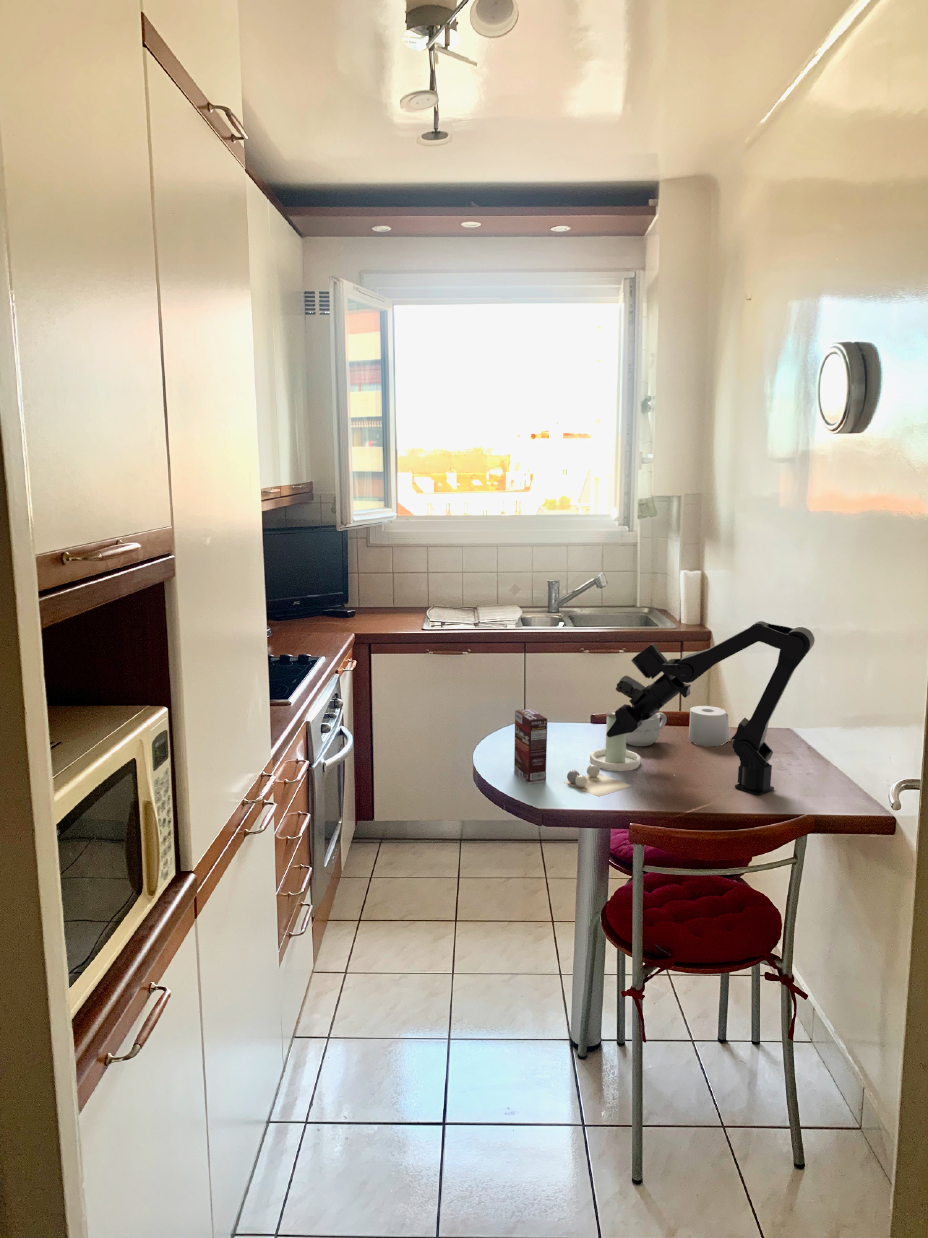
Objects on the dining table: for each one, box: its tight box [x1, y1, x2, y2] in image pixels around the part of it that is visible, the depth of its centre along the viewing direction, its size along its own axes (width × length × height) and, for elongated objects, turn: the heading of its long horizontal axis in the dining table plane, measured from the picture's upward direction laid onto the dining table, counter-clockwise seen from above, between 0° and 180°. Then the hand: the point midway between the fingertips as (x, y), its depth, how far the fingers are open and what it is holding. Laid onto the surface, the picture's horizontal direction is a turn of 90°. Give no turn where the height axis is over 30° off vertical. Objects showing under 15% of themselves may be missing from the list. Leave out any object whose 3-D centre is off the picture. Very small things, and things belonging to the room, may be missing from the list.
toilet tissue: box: [688, 705, 732, 747], centre depth 238 cm, size 9×13×9 cm
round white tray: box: [589, 748, 642, 772], centre depth 218 cm, size 12×12×2 cm
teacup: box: [626, 711, 667, 747], centre depth 235 cm, size 14×11×8 cm
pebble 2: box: [575, 774, 587, 788], centre depth 201 cm, size 3×3×3 cm
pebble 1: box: [566, 769, 581, 783], centre depth 204 cm, size 3×3×3 cm
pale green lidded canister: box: [605, 709, 627, 763], centre depth 217 cm, size 5×5×12 cm
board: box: [563, 773, 632, 798], centre depth 203 cm, size 11×11×1 cm
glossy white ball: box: [586, 764, 601, 777], centre depth 208 cm, size 3×3×3 cm
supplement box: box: [513, 708, 548, 785], centre depth 206 cm, size 9×5×16 cm, turn 21°
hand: (613, 730), depth 217 cm, fingers open, 9 cm apart
